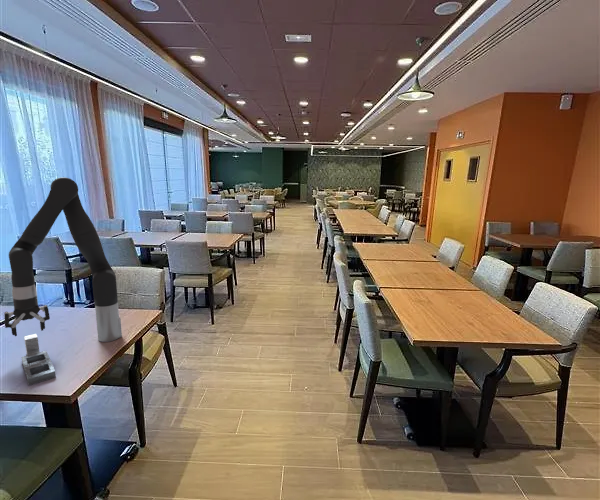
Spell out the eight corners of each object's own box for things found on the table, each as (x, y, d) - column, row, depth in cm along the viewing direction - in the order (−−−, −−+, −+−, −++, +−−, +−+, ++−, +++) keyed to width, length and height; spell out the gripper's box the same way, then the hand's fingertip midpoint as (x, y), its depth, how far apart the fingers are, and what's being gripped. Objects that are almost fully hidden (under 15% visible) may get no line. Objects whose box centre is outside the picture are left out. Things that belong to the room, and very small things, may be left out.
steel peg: (38, 350, 142) (36, 333, 140) (39, 354, 139) (37, 336, 137) (26, 353, 139) (24, 336, 137) (27, 357, 136) (25, 339, 135)
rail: (47, 356, 138) (46, 350, 137) (55, 377, 124) (55, 371, 124) (22, 362, 132) (21, 357, 132) (28, 385, 119) (27, 379, 118)
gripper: (2, 301, 126) (7, 341, 129) (48, 294, 136) (51, 331, 139) (0, 296, 132) (5, 334, 135) (45, 290, 141) (49, 325, 145)
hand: (29, 332), depth 137 cm, fingers open, 8 cm apart
